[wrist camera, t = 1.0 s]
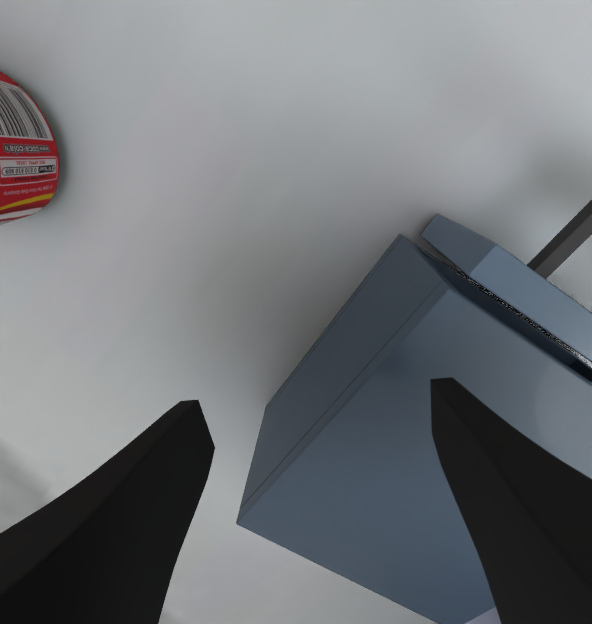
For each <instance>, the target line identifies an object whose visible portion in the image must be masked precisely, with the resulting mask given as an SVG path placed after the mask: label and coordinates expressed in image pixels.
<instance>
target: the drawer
mask: <svg viewBox="0 0 592 624" xmlns="http://www.w3.org/2000/svg"><path fill="white" fill-rule="evenodd" d="M590 235H592V200H591V201H590V202H589V203H588V204H587V205H586V206H585V207H584V208H583V209H582V210H581V211H580V212H579V213H578V214H577V215H576V216H575V217H574V218H573V219H572V220H571V221H570V222H569V223H568V224H567V225H566V226H565V227H564V228H563V229H562V230H561V231H560V232H559V233H558V234H557V235H556V236H555V237H554V238H553V239H552V240H551V241H550V242H549V243H548V244H547V245H546V246H545V247H544V248H543V249H542V250H541V252H540V253H539V254H538V255H537V256H536V257H535V258H534V259H533V260H532V261H531V262H530V263H529V264H528V265H525V264H524V263H523V262H521V261H520V260H519V259H517V258H516V257H514V256H513V255H512V254H510V253H509V252H507V251H506V250H505V249H503V248H502V247H501V246H499V245H498V244H496V243H494V242H492V241H490V240H488V239H486V238H484V237H483V236H481V235H479V234H477V233H475V232H473V231H471V230H469V229H467V228H465V227H463V226H461V225H459V224H457V223H455V222H453V221H451V220H449V219H448V218H446V217H444V216H442V215H440V214H437V215H436V216H435V217H434V218H433V220H432V221H431V222H430V223H429V225H428V226H427V227H426V228H425V230H424V231H423V232H422V233H421V236H422V237H423V238H424V239H425V240H426V241H428V242H429V243H430V244H431V245H432V246H433V247H435V248H436V249H437V250H438V251H439V252H440V253H442V254H443V255H444V256H445V257H446V258H447V259H449V260H450V261H451V262H452V263H453V264H454V265H456V266H457V267H458V268H459V269H460V270H461V271H463V272H464V273H465V274H466V275H467V276H468V277H470V278H471V279H473V280H474V281H476V282H477V283H479V284H480V285H481V286H483V287H484V288H486V289H487V290H489V291H490V292H491V293H493V294H494V295H496V296H497V297H499V298H500V299H502V300H503V301H504V302H506V303H507V304H509V305H510V306H512V307H513V308H514V309H516V310H517V311H519V312H520V313H522V314H523V315H525V316H526V317H527V318H529V319H530V320H532V321H533V322H535V323H536V324H537V325H539V326H540V327H542V328H543V329H545V330H546V331H547V332H549V333H550V334H552V335H553V336H555V337H556V338H558V339H559V340H560V341H562V342H563V343H565V344H566V345H568V346H569V347H570V348H572V349H573V350H575V351H576V352H578V353H579V354H581V355H582V356H583V357H585V358H586V359H588V360H589V361H591V362H592V312H590V311H589V310H587V309H586V308H585V307H583V306H582V305H581V304H579V303H578V302H576V301H575V300H574V299H572V298H571V297H570V296H568V295H567V294H565V293H564V292H563V291H561V290H560V289H558V288H557V287H556V286H554V285H553V284H552V283H550V282H549V281H547V280H546V278H547V277H548V276H549V275H550V274H551V273H552V272H553V271H554V270H555V269H556V268H557V267H559V266H560V265H561V264H562V263H563V262H564V261H565V260H566V259H567V258H568V257H569V256H570V255H571V254H572V253H573V252H574V251H575V250H576V249H577V248H578V247H579V246H580V245H581V244H582V243H583V242H584V241H585V240H586V239H587V238H588V237H589V236H590Z"/></svg>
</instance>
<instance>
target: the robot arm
mask: <svg viewBox="0 0 592 624" xmlns="http://www.w3.org/2000/svg"><path fill="white" fill-rule="evenodd" d="M430 387H431V426H432V436H433V440H434V443H435V447H436V450H437V454H438V457H439V460H440V464H441V467H442V469H443V472H444V474H445V477H446V479H447V482H448V484H449V486H450V489H451V491H452V494H453V496H454V498H455V501H456V503H457V505H458V508H459V510H460V512H461V515H462V517H463V520H464V522H465V524H466V527H467V529H468V531H469V534H470V536H471V538H472V541H473V543H474V546H475V548H476V551H477V553H478V556H479V558H480V561H481V564H482V566H483V569H484V572H485V575H486V578H487V581H488V584H489V587H490V590H491V594H492V597H493V600H494V603H495V606H496V607H494V608H492V609H491V610H489V611H487V612H485V613H483V614H482V615H480V616H478V617H476V618H474V619H473V620H471V621H469V622H467V623H465V624H592V479H591V478H589V477H588V476H586V475H584V474H583V473H581V472H579V471H578V470H576V469H574V468H573V467H571V466H570V465H568V464H566V463H565V462H563V461H562V460H560V459H558V458H557V457H555V456H554V455H552V454H551V453H549V452H548V451H546V450H545V449H543V448H542V447H541V446H539V445H538V444H536V443H535V442H533V441H532V440H531V439H529V438H528V437H526V436H525V435H523V434H522V433H521V432H519V431H518V430H517V429H515V428H514V427H513V426H512V425H510V424H509V423H508V422H506V421H505V420H504V419H503V418H501V417H500V416H499V415H497V414H496V413H495V412H494V411H492V410H491V409H490V408H489V407H487V406H486V405H485V404H484V403H483V402H481V401H480V400H479V399H478V398H477V397H475V396H474V395H473V394H472V393H471V392H470V391H468V390H467V389H466V388H465V387H464V386H462V385H461V384H460V383H459V382H458V381H456V380H455V379H454V378H453V377H449V378H437V379H430ZM214 450H215V446H214V443H213V441H212V438H211V435H210V432H209V429H208V426H207V423H206V421H205V418H204V415H203V412H202V409H201V406H200V403H199V401H198V400H189V401H180V402H179V403H178V404H176V405H175V406H174V407H172V408H171V409H170V410H169V411H167V412H166V413H165V414H164V415H162V416H161V417H160V418H159V419H158V420H157V421H155V422H154V423H153V424H152V425H151V426H149V427H148V428H147V429H146V430H145V431H144V432H142V433H141V434H140V435H139V436H138V437H136V438H135V439H134V440H133V441H132V442H130V443H129V444H128V445H127V446H126V447H124V448H123V449H122V450H121V451H119V452H118V453H117V454H116V455H114V456H113V457H112V458H111V459H109V460H108V461H107V462H106V463H104V464H103V465H102V466H100V467H99V468H98V469H97V470H95V471H94V472H93V473H91V474H90V475H89V476H87V477H86V478H85V479H83V480H82V481H81V482H79V483H78V484H76V485H75V486H74V487H72V488H71V489H69V490H68V491H66V492H65V493H63V494H62V495H61V496H59V497H58V498H56V499H55V500H53V501H52V502H50V503H49V504H47V505H46V506H44V507H42V508H41V509H39V510H38V511H36V512H34V513H33V514H31V515H30V516H28V517H26V518H25V519H23V520H21V521H20V522H18V523H17V524H15V525H13V526H12V527H10V528H8V529H7V530H5V531H4V532H2V533H0V624H158V622H159V619H160V615H161V611H162V607H163V604H164V600H165V597H166V593H167V590H168V587H169V583H170V580H171V576H172V573H173V569H174V567H175V564H176V561H177V558H178V555H179V552H180V550H181V547H182V544H183V542H184V539H185V537H186V534H187V531H188V529H189V526H190V524H191V521H192V518H193V516H194V513H195V511H196V508H197V506H198V503H199V500H200V498H201V495H202V492H203V490H204V487H205V484H206V481H207V479H208V475H209V471H210V467H211V463H212V459H213V454H214Z"/></svg>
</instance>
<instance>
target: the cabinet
mask: <svg viewBox="0 0 592 624" xmlns="http://www.w3.org/2000/svg"><path fill="white" fill-rule="evenodd" d="M449 377H453V378H454V379H455V380H456V381H458V382H459V383H460V384H461V385H462V386H464V387H465V388H466V389H467V390H468V391H470V392H471V393H472V394H473V395H474V396H475V397H477V398H478V399H479V400H480V401H481V402H483V403H484V404H485V405H486V406H487V407H489V408H490V409H491V410H492V411H494V412H495V413H496V414H497V415H499V416H500V417H501V418H503V419H504V420H505V421H506V422H508V423H509V424H510V425H512V426H513V427H514V428H515V429H517V430H518V431H519V432H521V433H522V434H523V435H525V436H526V437H528V438H529V439H531V440H532V441H533V442H535V443H536V444H538V445H539V446H541V447H542V448H543V449H545V450H546V451H548V452H549V453H551V454H552V455H554V456H555V457H557V458H558V459H560V460H562V461H563V462H565V463H566V464H568V465H570V466H571V467H573V468H574V469H576V470H578V471H579V472H581V473H583V474H584V475H586V476H588V477H589V478H591V479H592V368H591V367H590V366H589V365H587V364H586V363H585V362H584V361H582V360H581V359H580V358H579V357H577V356H576V355H574V354H573V353H571V352H570V351H568V350H567V349H566V348H564V347H563V346H561V345H560V344H558V343H557V342H555V341H554V340H553V339H551V338H550V337H548V336H547V335H545V334H544V333H543V332H541V331H540V330H538V329H537V328H535V327H534V326H532V325H531V324H530V323H528V322H527V321H525V320H524V319H522V318H521V317H519V316H518V315H517V314H515V313H514V312H512V311H511V310H509V309H508V308H506V307H505V306H504V305H502V304H501V303H499V302H498V301H496V300H495V299H493V298H492V297H491V296H489V295H488V294H486V293H485V292H483V291H482V290H480V289H479V288H478V287H476V286H475V285H473V284H472V283H470V282H469V281H467V280H466V279H465V278H463V277H462V276H460V275H459V274H457V273H456V272H454V271H453V270H452V269H450V268H449V267H447V266H446V265H444V264H443V263H442V262H440V261H439V260H437V259H436V258H434V257H433V256H431V255H430V254H429V253H427V252H426V251H424V250H423V249H421V248H420V247H418V246H417V245H416V244H414V243H413V242H411V241H410V240H408V239H407V238H405V237H404V236H403V235H401V234H399V235H398V236H397V238H396V239H395V240H394V242H393V243H392V244H391V245H390V247H389V248H388V249H387V251H386V252H385V253H384V255H383V256H382V257H381V258H380V260H379V261H378V262H377V264H376V265H375V266H374V267H373V269H372V270H371V271H370V273H369V274H368V275H367V277H366V278H365V279H364V280H363V282H362V283H361V284H360V286H359V287H358V288H357V289H356V291H355V292H354V293H353V295H352V296H351V297H350V299H349V300H348V301H347V302H346V304H345V305H344V306H343V308H342V309H341V310H340V312H339V313H338V314H337V315H336V317H335V318H334V319H333V321H332V322H331V323H330V324H329V326H328V327H327V328H326V330H325V331H324V332H323V334H322V335H321V336H320V337H319V339H318V340H317V341H316V343H315V344H314V345H313V346H312V348H311V349H310V350H309V352H308V353H307V354H306V356H305V357H304V358H303V359H302V361H301V362H300V363H299V365H298V366H297V367H296V368H295V370H294V371H293V372H292V374H291V375H290V376H289V378H288V379H287V380H286V381H285V383H284V384H283V385H282V387H281V388H280V389H279V390H278V392H277V393H276V394H275V396H274V397H273V398H272V400H271V401H270V402H269V403H268V405H267V406H266V408H265V412H264V416H263V420H262V424H261V428H260V432H259V436H258V439H257V443H256V447H255V451H254V455H253V459H252V463H251V467H250V470H249V474H248V478H247V482H246V486H245V490H244V494H243V498H242V501H241V505H240V510H239V514H238V518H237V522H236V524H237V525H239V526H241V527H243V528H246V529H248V530H250V531H252V532H254V533H256V534H258V535H260V536H262V537H264V538H266V539H268V540H270V541H272V542H274V543H276V544H278V545H280V546H282V547H284V548H286V549H288V550H290V551H292V552H294V553H296V554H298V555H300V556H302V557H304V558H306V559H308V560H310V561H313V562H315V563H317V564H319V565H321V566H323V567H325V568H327V569H329V570H331V571H333V572H335V573H337V574H339V575H341V576H343V577H345V578H347V579H349V580H351V581H353V582H355V583H357V584H359V585H361V586H363V587H365V588H367V589H369V590H371V591H373V592H375V593H377V594H380V595H382V596H384V597H386V598H388V599H390V600H392V601H394V602H396V603H398V604H400V605H402V606H404V607H406V608H408V609H410V610H412V611H414V612H416V613H418V614H420V615H422V616H424V617H426V618H428V619H430V620H432V621H434V622H436V623H438V624H465V623H467V622H469V621H471V620H473V619H474V618H476V617H478V616H480V615H482V614H483V613H485V612H487V611H489V610H491V609H492V608H494V607H496V606H495V603H494V600H493V597H492V594H491V590H490V587H489V584H488V581H487V578H486V575H485V572H484V569H483V566H482V564H481V561H480V558H479V556H478V553H477V551H476V548H475V546H474V543H473V541H472V538H471V536H470V534H469V531H468V529H467V527H466V524H465V522H464V520H463V517H462V515H461V512H460V510H459V508H458V505H457V503H456V501H455V498H454V496H453V494H452V491H451V489H450V486H449V484H448V482H447V479H446V477H445V474H444V472H443V469H442V467H441V464H440V460H439V457H438V454H437V450H436V447H435V443H434V440H433V436H432V426H431V387H430V379H437V378H449Z"/></svg>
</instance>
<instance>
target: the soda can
mask: <svg viewBox="0 0 592 624" xmlns="http://www.w3.org/2000/svg"><path fill="white" fill-rule="evenodd" d="M58 179H59V156H58V150H57V146H56V142H55V139H54V136H53V134H52V131H51V128H50V126H49V124H48V122H47V120H46V118H45V116H44V115H43V113H42V112H41V110H40V109H39V107H38V106H37V104H36V103H35V102H34V101H33V99H32V98H31V97H30V96H29V95H28V93H27V92H26V91H25V90H24V89H22V88H21V87H20V86H19V85H18V84H17V83H16V82H15V81H13V80H12V79H11V78H9V77H8V76H7V75H5V74H3V73H2V72H0V225H2V224H5V223H8V222H11V221H14V220H17V219H20V218H23V217H26V216H29V215H32V214H35V213H36V212H38V211H40V210H41V209H42V208H44V207H45V206H46V205H47V204H48V203H49V201H50V200H51V198H52V197H53V195H54V192H55V190H56V188H57V183H58Z"/></svg>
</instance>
